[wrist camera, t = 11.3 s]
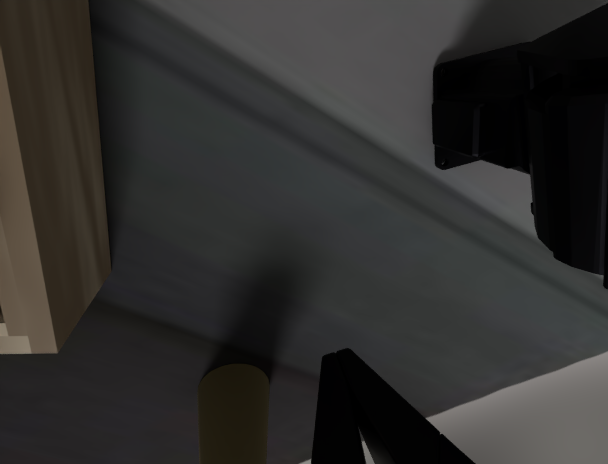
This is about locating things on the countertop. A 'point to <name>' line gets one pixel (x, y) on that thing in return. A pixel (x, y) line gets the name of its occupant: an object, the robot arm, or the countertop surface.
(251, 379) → the cork
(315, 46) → the countertop surface
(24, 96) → the button box
